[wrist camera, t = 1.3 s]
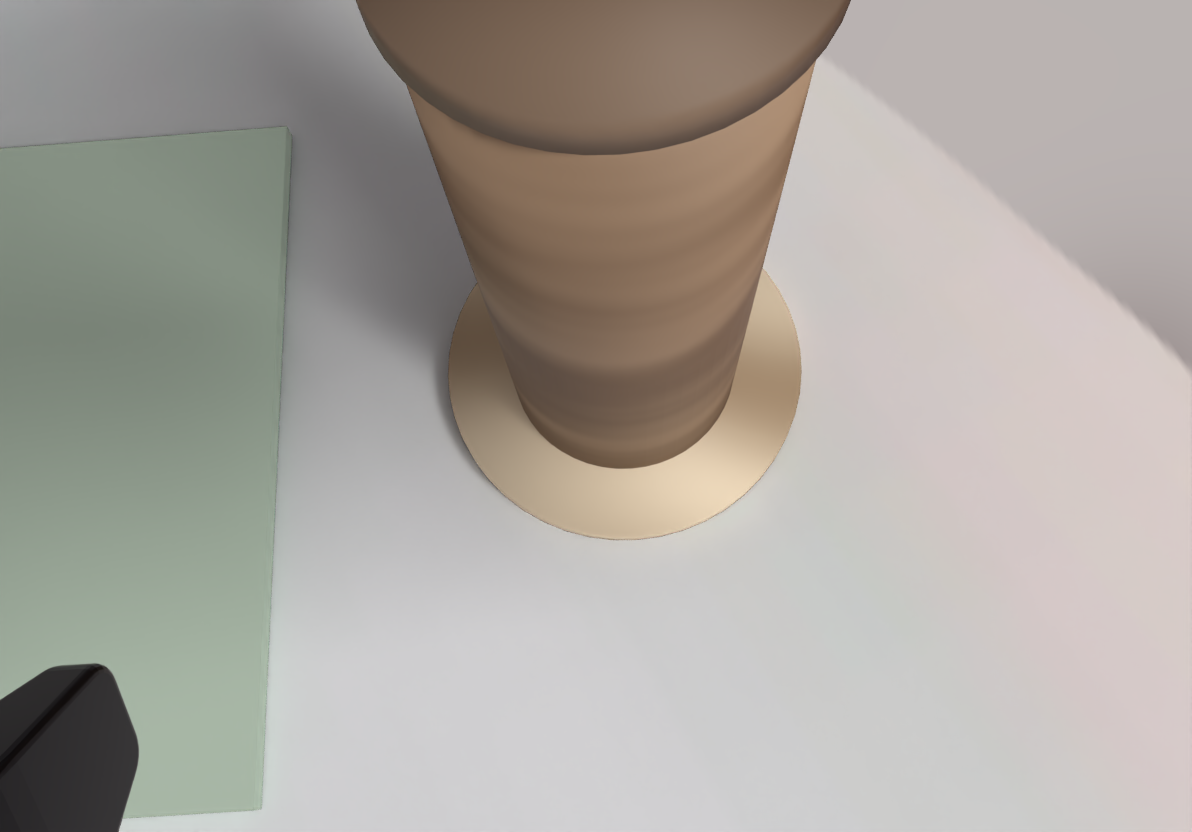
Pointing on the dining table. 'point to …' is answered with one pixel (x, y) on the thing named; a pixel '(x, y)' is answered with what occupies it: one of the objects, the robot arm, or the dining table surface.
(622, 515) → the coaster
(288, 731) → the dining table surface
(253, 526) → the mat
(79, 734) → the robot arm
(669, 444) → the canister
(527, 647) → the dining table surface
